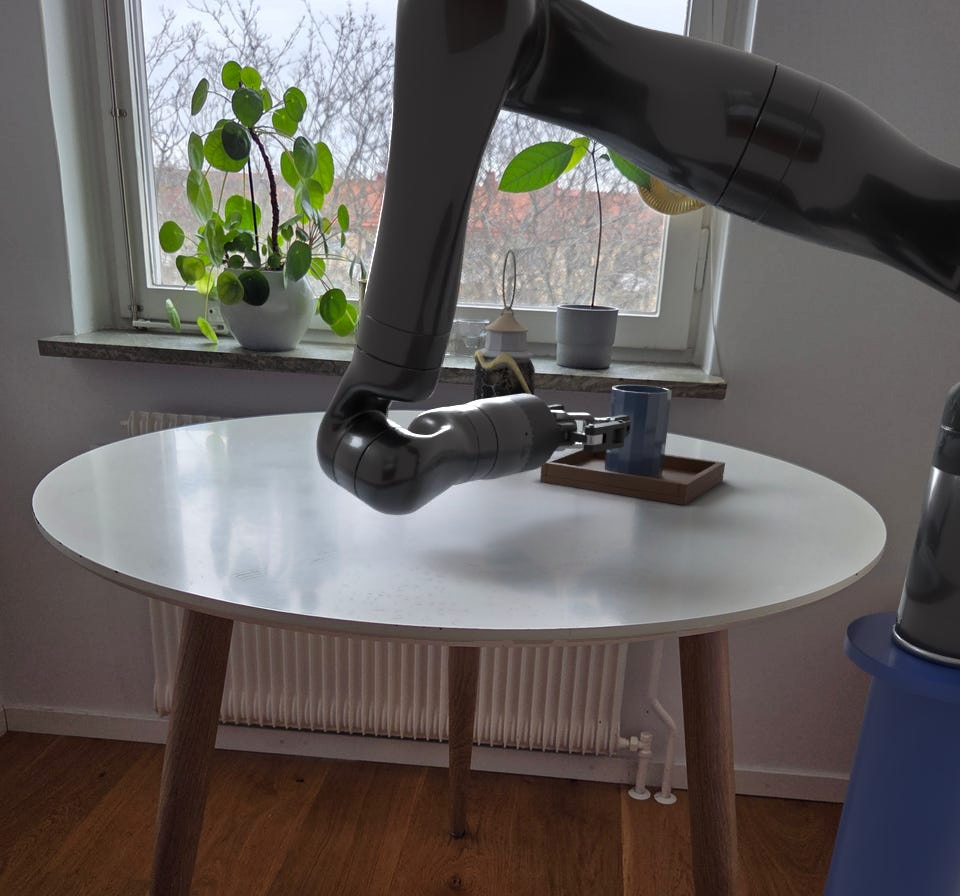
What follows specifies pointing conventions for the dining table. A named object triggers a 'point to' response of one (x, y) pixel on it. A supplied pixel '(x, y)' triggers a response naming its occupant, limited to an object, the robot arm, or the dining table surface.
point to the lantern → (504, 356)
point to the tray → (635, 476)
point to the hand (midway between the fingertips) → (593, 419)
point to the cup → (640, 430)
